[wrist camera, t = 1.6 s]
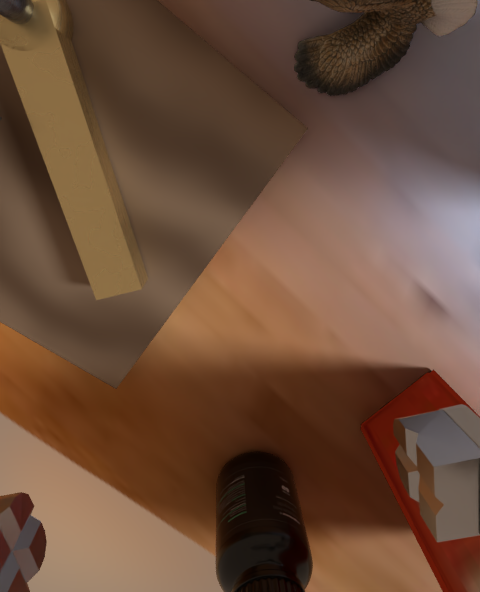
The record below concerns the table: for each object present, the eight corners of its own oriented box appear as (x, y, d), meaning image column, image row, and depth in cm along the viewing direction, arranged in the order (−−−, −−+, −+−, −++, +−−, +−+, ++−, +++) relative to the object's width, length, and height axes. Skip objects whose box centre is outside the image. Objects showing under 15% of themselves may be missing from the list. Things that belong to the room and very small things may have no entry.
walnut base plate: (-6, -131, 22) (-21, -151, 21) (303, 129, 27) (308, 128, 26) (-163, 212, 28) (-183, 215, 26) (120, 378, 33) (116, 389, 31)
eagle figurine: (384, -122, 23) (256, -21, 22) (502, -135, 18) (342, -8, 18) (398, 21, 28) (297, 102, 28) (490, 39, 24) (370, 136, 23)
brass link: (-11, -11, 23) (-76, -58, 18) (58, -29, 23) (12, -82, 18) (99, 290, 28) (73, 318, 23) (155, 276, 28) (141, 302, 23)
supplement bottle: (308, 482, 37) (347, 626, 26) (249, 522, 38) (262, 677, 27) (260, 434, 35) (280, 568, 24) (200, 478, 36) (191, 625, 25)
